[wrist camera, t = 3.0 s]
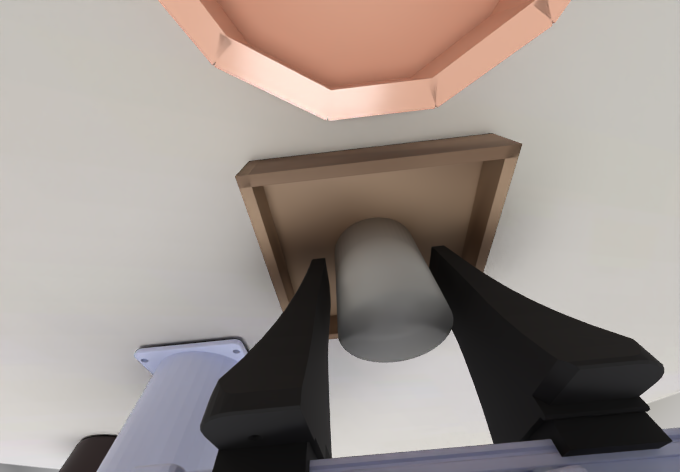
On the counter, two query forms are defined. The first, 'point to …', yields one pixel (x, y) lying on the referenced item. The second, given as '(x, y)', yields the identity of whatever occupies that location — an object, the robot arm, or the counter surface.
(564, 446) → the robot arm
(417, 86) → the bowl
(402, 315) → the stone
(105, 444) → the vinegar
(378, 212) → the tray
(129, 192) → the counter surface
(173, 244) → the counter surface
